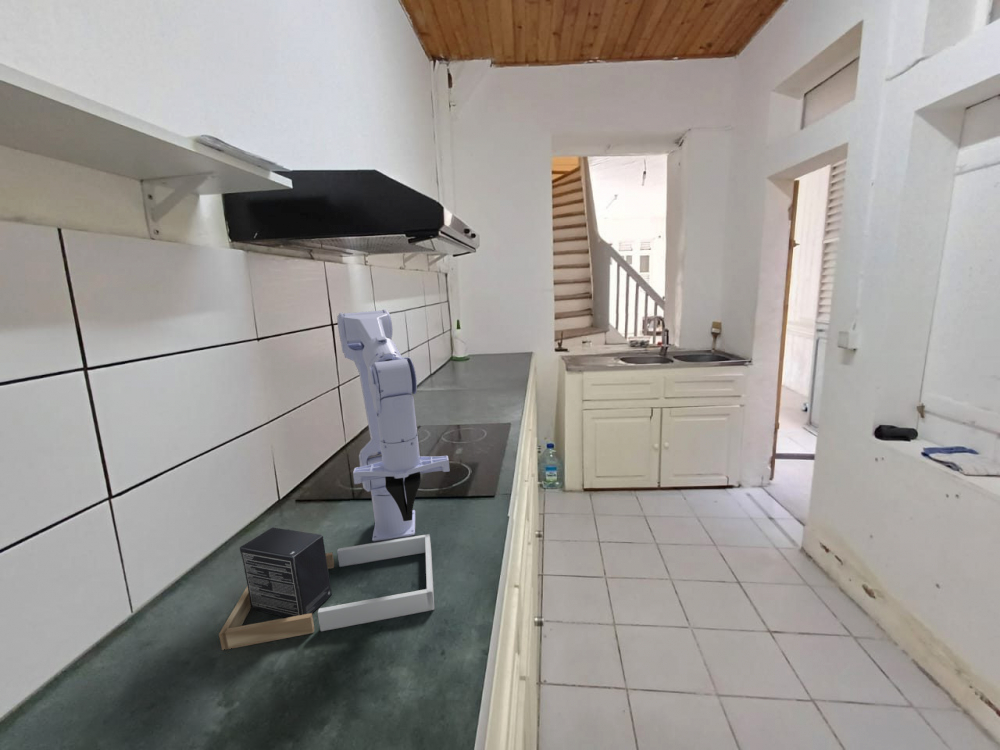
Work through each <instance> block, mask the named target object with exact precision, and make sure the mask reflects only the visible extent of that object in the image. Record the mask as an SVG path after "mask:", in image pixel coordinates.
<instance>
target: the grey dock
mask: <svg viewBox="0 0 1000 750" xmlns="http://www.w3.org/2000/svg"><path fill="white" fill-rule="evenodd" d="M430 534H431V533H427V534H422V535H416V536H414V535H413V536H406V537H400V538H394V539H388V540H382V541H375V542H371V543H365V544H359V545H353V546H347V547H345V546H344V547H340V548H339V547H338V549H337V550H336V553H337V559H338V566H339V567H340V568H341V567H346V566H347V567H348V566H353V565H358V564H359V565H360V564H365V563H371V562H378V561H383V560H389V559H395V558H400V557H406V556H412V555H413V556H414V555H418V554H425V574H426V575H425V576H426V588H425V589H420V590H419V589H418V590H415V591H414V590H413V591H410V592H403V593H397V594H392V595H387V596H386V595H385V596H381V597H376V598H375V597H374V598H371V599H363V600H359V601H354V602H353V601H352V602H348V603H343V604H337V605H331V606H326V607H320V608H318V610H317V616H318V623H319V628H320V629H319V630H320V632H325V631H330V630H331V631H332V630H335V629H342V628H346V627H350V626H351V627H352V626H355V625H357V626H358V625H362V624H367V623H372V622H377V621H378V622H379V621H382V620H387V619H394V618H398V617H404V616H408V615H409V616H410V615H413V614H418V613H424V612H429V611H434V610H435V597H434V595H435V594H434V579H433V560H432V559H433V558H432V544H431V535H430Z"/></svg>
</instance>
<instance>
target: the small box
mask: <svg viewBox="0 0 1000 750" xmlns="http://www.w3.org/2000/svg"><path fill="white" fill-rule="evenodd" d="M325 547H326V546H325V542H324V535H323V534H320V533H311V532H306V531H305V532H303V531H299V530H291V529H285V528H279V527H270V528H269V529H268V530H266V531H264V532H263V533H261V534H259V535H258V536H256V537H255V538H253V539H251V540H250V541H248V542H247V543H244V544H243V545H241V546H240V547H239V551H240V554H241V559H242V563H243V569H244V575H245V580H246V585H247V586H248V592H249V597H250V603H251V609H250V610H254V611H257V612H262V613H267V614H270V615H275V616H278V617H283V618H288V617H293V616H299V615H304V614H310V613H312V614H313V613H314V612H315V611H316V610H317V609H319V607H321V606H322V604H323V603H324V602H326V601H327V600H328V599H329V598H330V597H331V596H332V587H331V581H330V580H331V579H330V573H329V569H328V567H327V560H326V553H327V552H326V548H325ZM247 586H246V587H247Z"/></svg>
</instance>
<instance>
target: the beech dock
mask: <svg viewBox="0 0 1000 750" xmlns="http://www.w3.org/2000/svg"><path fill="white" fill-rule="evenodd" d="M325 553H326V560H327V567H328V570H329V569H334V567H335V560H334V554H333V552H332V551H331V552H325ZM251 610H252V609H251V603H250V597H249V592H248V586H246V588H245V589H244V591H243V593H242V595H241V596H240V598H239V600H238V601H237V602H236V605H235V606H234V608H233V609H232V611H231V613H230V615H229V617H228V618H227V620H226V621H225V623H224V625H223V627H222V628H221V630H220V632H219V633H218V637H219V642H220V647H221V651H226V650H230V649H231V648H232V649H237V648H241V647H247V646H251V645H252V646H253V645H257V644H263V643H267V642H272V641H273V642H274V641H277V640H283V639H287V638H288V639H289V638H293V637H297V636H304V635H309V634H313V633H314V632H315V625H314V624H315V623H314V618H313V617H314V616H313V613H310V614H304V615H299V616H293V617H288V618H286V617H283V618H277V619H273V620H267V621H262V622H257V623H250V624H246V625H243V623H244V622H245V620H246V619H247V616H248V614H249V612H250V611H251ZM224 649H225V650H224Z"/></svg>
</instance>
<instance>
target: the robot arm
mask: <svg viewBox="0 0 1000 750" xmlns="http://www.w3.org/2000/svg"><path fill="white" fill-rule="evenodd" d="M336 320H337V330H338V335H339V336H338V337H339V339H340V345H341V351H342V353H343V356H344V358H345V359H347V360H349V361H353V362H354V365H355V367H356V370H357V372H358V374H359V380H360V386H361V393H362V396H363V403H364V409H365V414H366V419H367V424H368V425H367V426H368V431H369V432H368V433H369V435H370V436H369V437H370V440H369V441H368V442H367V443H366V444H365V446H364V447H362V448H361V449H360V451H359V455H358V460H359V466H357V467H354V469H353V472H352V475H353V482H354V483H353V484H354V485H359V484H362V487H363V489H364V491H366V492H367V493H368V492H370V494H371V501H372V509H373V517H374V523H375V524H374V529H373V532H372V539H371V541H372V542H382V541H388V540H394V539H400V538H407V537H413V536H414V535H416V510H415V509H414V504H415V500H416V496H417V492H418V490H419V488H420V485H421V480H422V479H421V474H428V473H432V472H433V473H434V472H441V471H442V472H443V473H447V472H450V471H451V470H450V461H449V460H450V459H449V456H448V455H441V456H438V455H437V456H434V455H433V456H431V455H430V456H421V455H420V446H419V445H420V444H419V436H418V428H417V417H416V408H415V400H414V399H415V398H414V396H413V395H416V394H417V391H418V389H417V388H418V379H417V373H416V370H415V369H416V368H415V366H414V362H413V360H412V358H411V357H410V356H402V354H401V352H400V351H399V348H398V345H396V343H395V342H394V340H392V337H393V322H392V316H391V314H390V312H389V311H388V310H387V309H382V310H371V311H357V312H339V313H338V314H337V318H336Z"/></svg>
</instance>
